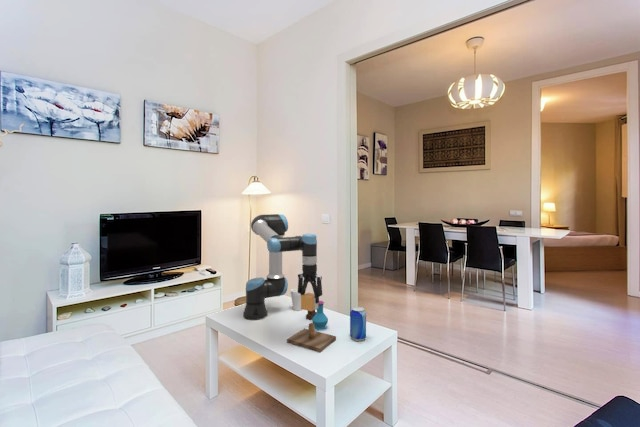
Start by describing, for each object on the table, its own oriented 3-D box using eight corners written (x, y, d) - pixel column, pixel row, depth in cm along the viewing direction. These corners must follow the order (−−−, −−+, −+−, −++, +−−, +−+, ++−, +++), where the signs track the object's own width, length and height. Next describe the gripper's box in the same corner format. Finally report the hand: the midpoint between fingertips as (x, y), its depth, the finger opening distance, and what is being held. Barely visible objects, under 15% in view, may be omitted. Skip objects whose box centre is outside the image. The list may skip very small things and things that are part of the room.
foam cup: (288, 309, 209) (287, 290, 209) (296, 306, 217) (296, 287, 216) (298, 312, 204) (298, 293, 203) (307, 308, 211) (307, 289, 211)
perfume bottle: (308, 326, 180) (308, 301, 180) (321, 322, 186) (321, 298, 186) (319, 331, 173) (319, 305, 173) (331, 327, 179) (331, 301, 179)
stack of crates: (317, 325, 184) (317, 314, 183) (296, 320, 191) (296, 309, 191) (329, 317, 196) (329, 306, 196) (310, 313, 204) (310, 303, 204)
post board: (286, 342, 160) (286, 325, 159) (304, 331, 173) (304, 315, 173) (319, 352, 149) (319, 334, 149) (335, 340, 163) (335, 323, 162)
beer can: (369, 338, 165) (369, 308, 165) (360, 343, 159) (360, 312, 158) (356, 333, 171) (356, 304, 170) (346, 338, 165) (346, 308, 164)
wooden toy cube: (301, 309, 160) (301, 295, 160) (308, 305, 165) (308, 292, 165) (311, 311, 156) (311, 297, 156) (318, 307, 162) (318, 294, 162)
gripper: (290, 263, 162) (290, 306, 163) (321, 266, 152) (322, 313, 153) (298, 261, 169) (299, 303, 169) (329, 264, 158) (329, 309, 159)
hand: (309, 307), depth 161 cm, fingers closed on wooden toy cube, 6 cm apart
